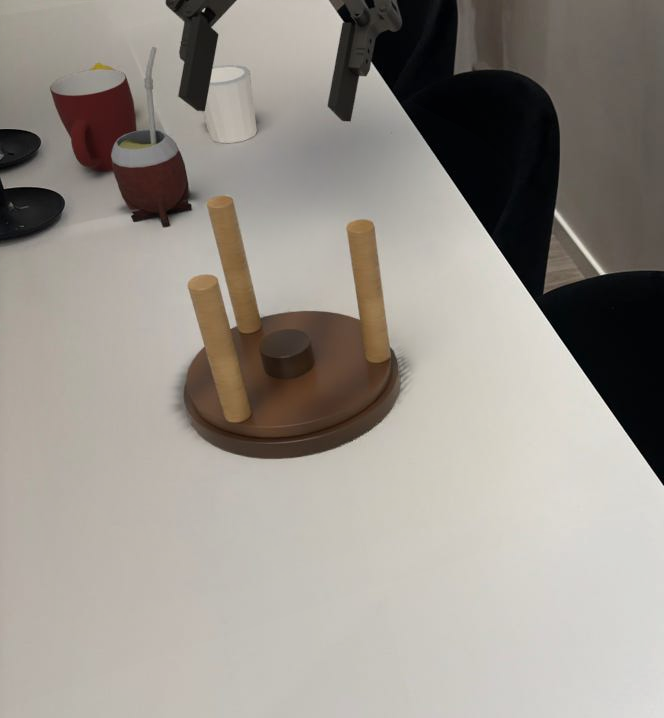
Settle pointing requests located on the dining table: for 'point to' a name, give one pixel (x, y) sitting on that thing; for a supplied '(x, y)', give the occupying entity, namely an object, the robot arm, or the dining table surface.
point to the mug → (95, 113)
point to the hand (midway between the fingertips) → (263, 109)
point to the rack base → (305, 442)
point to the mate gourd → (150, 168)
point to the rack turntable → (285, 345)
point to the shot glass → (230, 105)
